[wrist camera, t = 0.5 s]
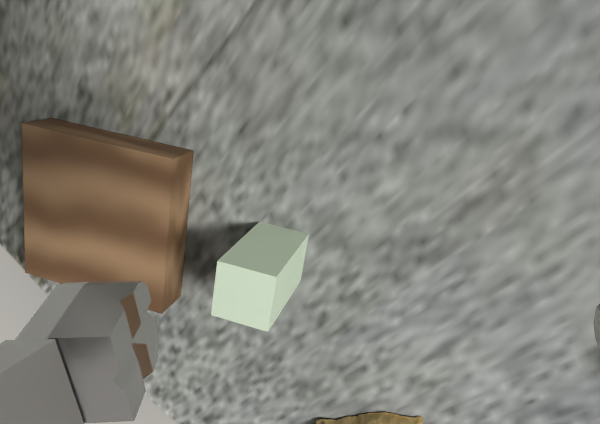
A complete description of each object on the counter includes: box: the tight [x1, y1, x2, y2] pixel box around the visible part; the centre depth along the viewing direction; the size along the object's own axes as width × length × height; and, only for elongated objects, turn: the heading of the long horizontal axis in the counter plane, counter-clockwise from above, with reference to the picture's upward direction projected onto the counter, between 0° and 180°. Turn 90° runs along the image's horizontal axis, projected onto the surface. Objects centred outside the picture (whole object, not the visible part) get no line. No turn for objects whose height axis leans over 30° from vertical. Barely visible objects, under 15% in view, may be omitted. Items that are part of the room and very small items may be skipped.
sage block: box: [211, 222, 309, 332], centre depth 47 cm, size 5×5×10 cm
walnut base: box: [21, 118, 193, 314], centre depth 53 cm, size 16×16×4 cm
